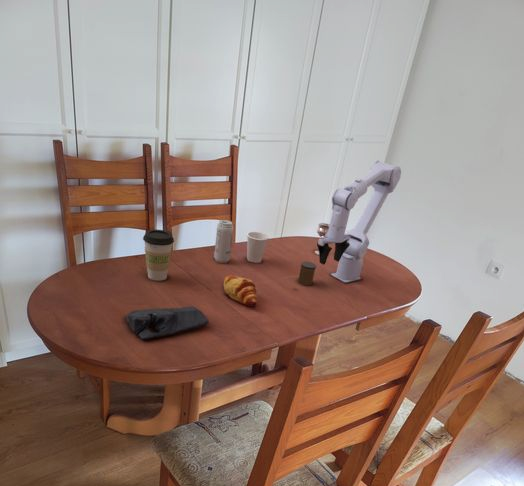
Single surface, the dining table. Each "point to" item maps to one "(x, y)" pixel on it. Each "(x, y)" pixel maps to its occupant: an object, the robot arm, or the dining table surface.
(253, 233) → the dixie cup
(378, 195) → the robot arm
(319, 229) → the wineglass
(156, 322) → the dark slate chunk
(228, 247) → the energy drink can
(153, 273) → the coffee cup
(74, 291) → the dining table surface
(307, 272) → the tea tin
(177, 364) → the dining table surface
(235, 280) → the croissant
